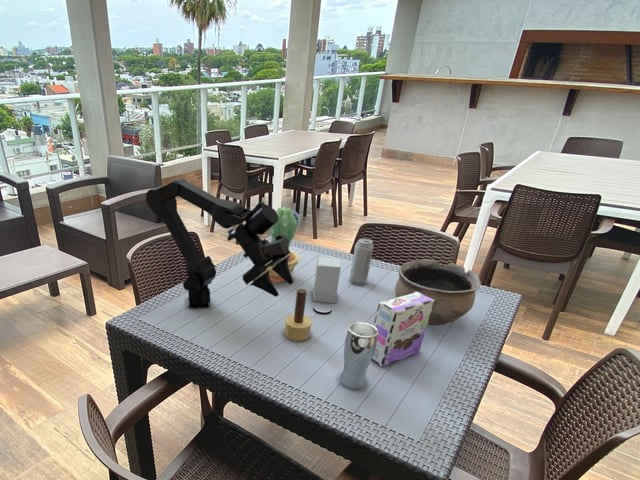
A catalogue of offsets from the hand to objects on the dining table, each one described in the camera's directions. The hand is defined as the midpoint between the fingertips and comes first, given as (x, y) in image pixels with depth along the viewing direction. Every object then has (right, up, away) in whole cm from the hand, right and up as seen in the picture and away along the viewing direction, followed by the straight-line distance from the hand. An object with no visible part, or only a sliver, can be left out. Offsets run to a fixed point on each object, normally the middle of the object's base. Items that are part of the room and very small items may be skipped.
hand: (285, 289), depth 121 cm
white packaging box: (+17, 0, +25) cm, 30 cm away
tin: (+4, -12, +5) cm, 14 cm away
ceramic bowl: (+45, -7, +13) cm, 48 cm away
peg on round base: (+4, -9, +3) cm, 10 cm away
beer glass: (+15, -24, -14) cm, 32 cm away
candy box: (+28, -18, -4) cm, 34 cm away
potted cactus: (+3, +9, +39) cm, 40 cm away
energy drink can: (+31, +7, +35) cm, 48 cm away
